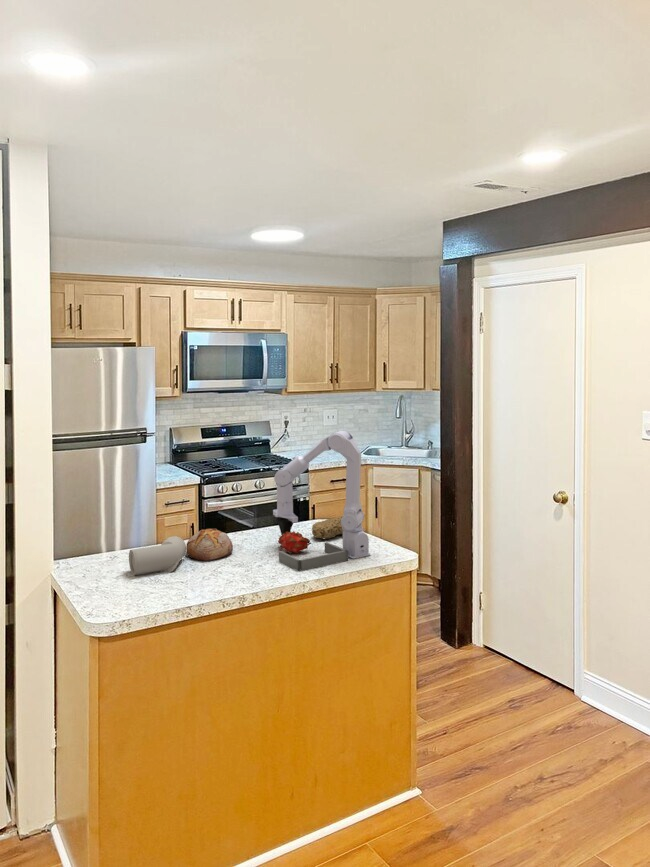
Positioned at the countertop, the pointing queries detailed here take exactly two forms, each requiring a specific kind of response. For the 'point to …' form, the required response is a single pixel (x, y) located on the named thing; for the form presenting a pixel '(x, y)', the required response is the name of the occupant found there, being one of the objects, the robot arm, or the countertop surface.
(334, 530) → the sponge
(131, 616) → the countertop surface
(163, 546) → the l-shaped cylinder
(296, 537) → the dragon fruit
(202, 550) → the bread
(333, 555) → the box
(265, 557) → the countertop surface
